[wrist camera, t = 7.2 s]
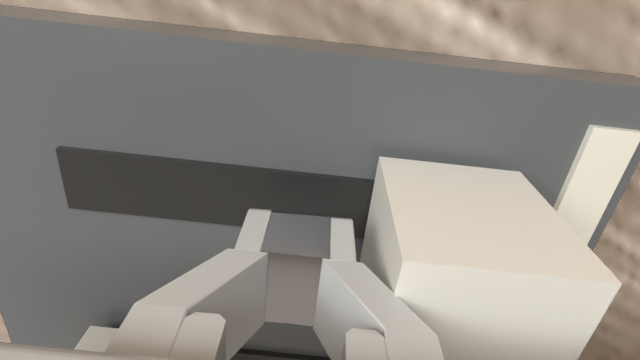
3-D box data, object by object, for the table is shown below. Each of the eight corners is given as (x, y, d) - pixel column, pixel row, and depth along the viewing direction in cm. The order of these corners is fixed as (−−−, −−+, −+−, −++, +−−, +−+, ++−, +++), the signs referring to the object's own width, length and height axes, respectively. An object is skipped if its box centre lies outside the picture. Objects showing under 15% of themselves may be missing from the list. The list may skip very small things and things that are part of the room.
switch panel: (633, 75, 11) (682, 93, 9) (436, 501, 21) (444, 543, 19) (-55, -2, 10) (-123, 3, 9) (87, 468, 21) (67, 507, 19)
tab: (519, 171, 10) (622, 283, 6) (479, 280, 12) (542, 417, 8) (379, 156, 10) (402, 260, 6) (358, 267, 11) (367, 400, 8)
